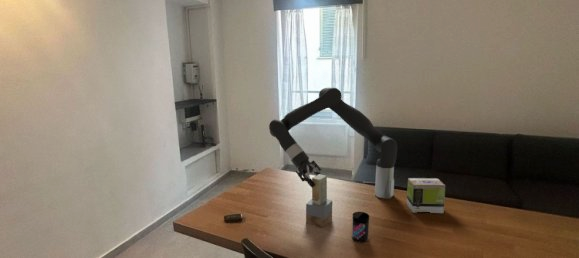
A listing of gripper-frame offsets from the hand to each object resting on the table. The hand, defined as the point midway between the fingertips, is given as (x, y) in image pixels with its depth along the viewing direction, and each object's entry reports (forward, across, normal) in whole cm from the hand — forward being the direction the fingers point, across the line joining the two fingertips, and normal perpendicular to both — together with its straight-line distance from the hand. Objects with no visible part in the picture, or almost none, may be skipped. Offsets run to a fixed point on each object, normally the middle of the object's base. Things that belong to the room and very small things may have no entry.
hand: (318, 183), depth 136 cm
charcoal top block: (+10, 0, +10) cm, 14 cm away
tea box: (+41, +40, -14) cm, 59 cm away
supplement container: (+29, -3, -2) cm, 29 cm away
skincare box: (+7, 0, +6) cm, 9 cm away
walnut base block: (+14, 0, +13) cm, 19 cm away
